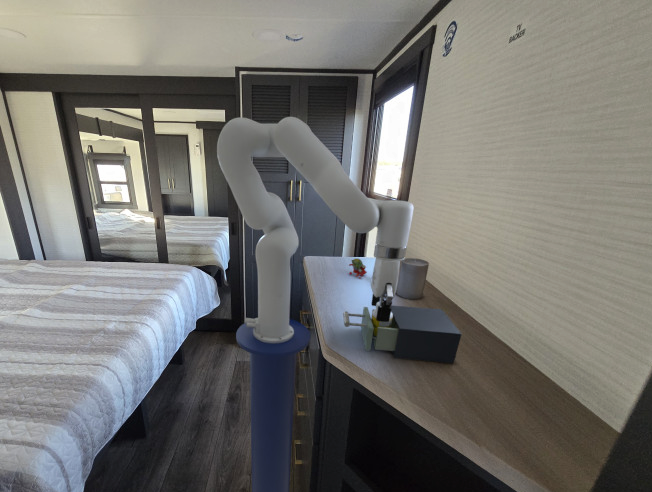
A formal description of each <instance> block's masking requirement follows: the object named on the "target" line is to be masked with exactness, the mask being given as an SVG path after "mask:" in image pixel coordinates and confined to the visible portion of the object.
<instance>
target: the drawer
mask: <svg viewBox="0 0 652 492" xmlns="http://www.w3.org/2000/svg"><path fill="white" fill-rule="evenodd" d="M375 309H376V308H375ZM375 309H374V308H372V309H371V310H372V311H371V314H372V313H373V311H374V310H375ZM371 314H370V310H369V307H368V306H363V309H362V314H361V313H350V312H349V311H344V312H343V313H342V315H343V325H344V327H345V328H349V327H350V326H351V327H360V329H361V335H362V339H363V344H364V345H363V346H364V349H365V351H366V352H371V349H372V342H373V346H374V349H375V350H379V351H380V350H381V351H388V352H389V351H391V352H392V351H395V346H396V341H397V335H398V327H397V325H396V323H395V320H394V318H393V319H392V325H391V328H386V327H378V330H377V337H376V339H374V338H372V336H373V329H374V328H373V324H372V321H371V320H372V315H371ZM350 317H357V318H361V323H360V322H359V323H358V322H350Z"/></svg>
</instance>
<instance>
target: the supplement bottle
mask: <svg viewBox="0 0 652 492" xmlns="http://www.w3.org/2000/svg"><path fill="white" fill-rule="evenodd" d="M378 306H380V302H377V303H376V306H375V310H374V311H373V313H372V312H371V316H372V320H371V321H372V324H373V328H374V329H373V336H372V338H374V339H376V337H377V330H378V327H386V328H391V325H392V319H393V314H392V312H391V314H390V319H389V322H382V321H377V320H376V317H377V310H378Z"/></svg>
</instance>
